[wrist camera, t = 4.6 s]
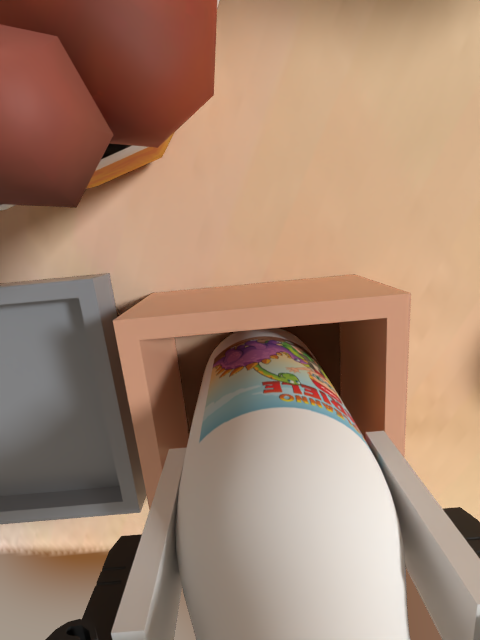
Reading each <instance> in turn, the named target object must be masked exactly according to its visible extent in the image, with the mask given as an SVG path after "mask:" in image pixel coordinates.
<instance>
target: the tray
mask: <svg viewBox="0 0 480 640" xmlns="http://www.w3.org/2000/svg"><path fill="white" fill-rule="evenodd" d="M117 317H118V316H117V311H116V306H115V301H114V295H113V290H112V285H111V280H110V274H109V273H108V274H97V275H86V276H76V277H65V278H54V279H43V280H33V281H22V282H11V283H0V524H9V523H21V522H33V521H45V520H57V519H69V518H81V517H93V516H105V515H117V514H128V513H140V512H141V509H142V506H143V503H144V500H145V498H146V495H147V494H146V489H145V484H144V479H143V474H142V468H141V463H140V458H139V453H138V448H137V443H136V438H135V433H134V427H133V422H132V417H131V412H130V407H129V402H128V397H127V391H126V386H125V381H124V376H123V371H122V366H121V361H120V356H119V350H118V345H117V340H116V335H115V330H114V325H113V320H114V319H116V318H117Z"/></svg>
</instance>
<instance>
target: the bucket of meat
mask: <svg viewBox="0 0 480 640" xmlns="http://www.w3.org/2000/svg"><path fill="white" fill-rule="evenodd" d="M219 1H220V0H0V210H6V209H8V208H10V207H13V206H15V205H32V206H56V207H77V205H78V203H79V201H80V199H81V197H82V196H83V194H84V192H85V190H86V188H91V187H95V186H98V185H101V184H103V183H105V182H107V181H110V180H112V179H114V178H116V177H119V176H121V175H123V174H125V173H128V172H130V171H132V170H134V169H137V168H139V167H141V166H143V165H145V164H148V163H150V162H152V161H154V160H157V159H159V158H161V157H162V156H163V154H164V152H165V150H166V148H167V146H168V144H169V142H170V140H171V138H172V136H173V134H174V132H175V131H176V130H177V129H178V128H179V127H180V126H181V125H182V124H184V123H185V122H186V121H187V120H188V119H189V118H190V117H191V116H192V115H193V114H194V113H195V112H196V111H197V110H198V109H199V108H200V107H202V106H203V105H204V104H205V103H206V102H207V101H208V100H209V99H210V98H211V97H212V96H213V95H214V72H215V45H216V19H217V8H218V5H219Z"/></svg>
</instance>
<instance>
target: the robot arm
mask: <svg viewBox="0 0 480 640" xmlns="http://www.w3.org/2000/svg"><path fill="white" fill-rule="evenodd" d="M365 441H366V442H367V444H368V446H369V448H370V450H371V452H372V454H373V455H374V457H375V459H376V461H377V463H378V465H379V466H380V468H381V471H382V473H383V475H384V478H385V480H386V483H387V485H388V488H389V490H390V493H391V495H392V498H393V502H394V505H395V508H396V512H397V515H398V519H399V523H400V528H401V534H402V540H403V546H404V555H405V567H406V569H407V570H408V573H409V575H410V576H411V578H412V580H413V582H414V584H415V586H416V588H417V590H418V592H419V594H420V596H421V598H422V600H423V602H424V604H425V606H426V608H427V610H428V612H429V614H430V616H431V618H432V620H433V622H434V624H435V626H436V628H437V630H438V632H439V634H440V635H441V638H442V640H480V522H479V521H478V520H477V519H476V518H474V517H473V516H471V515H470V514H469V513H467V512H466V511H465V510H463V509H462V508H460V507H458V508H446V509H442V508H441V506H440V505H439V504H438V502H437V501H436V500H435V498H434V497H433V496H432V494H431V493H430V492H429V490H428V489H427V488H426V486H425V485H424V484H423V482H422V481H421V480H420V478H419V477H418V476H417V474H416V473H415V472H414V470H413V469H412V468H411V466H410V465H409V464H408V462H407V461H406V460H405V458H404V457H403V456H402V454H401V453H400V452H399V450H398V449H397V448H396V446H395V445H394V444H393V442H392V441H391V440H390V438H389V437H388V436H387V434H386V433H385V432H384V431H374V432H366V433H365ZM185 453H186V448H175V449H169V451H168V454H167V457H166V460H165V464H164V467H163V470H162V473H161V476H160V479H159V482H158V486H157V489H156V492H155V495H154V498H153V501H152V505H151V508H150V511H149V514H148V517H147V520H146V524H145V527H144V530H143V533H142V535H130V536H121V537H120V539H119V540H118V541H117V542H116V544H115V545H114V546H113V547H112V549H111V550H110V551H109V553H108V556H107V558H106V561H105V563H104V566H103V569H102V572H101V573H100V576H99V578H98V581H97V585H96V586H95V588H94V591H93V593H92V595H91V598H90V600H89V603H88V605H87V608H86V610H85V613H84V615H83V618H82V620H81V619H78V620H74V621H70V622H67V623H66V624H64V625H62V626H61V627H59V628H58V629H56V630H55V631H54V632H53V633H52V634H51V635H50V636H49V637H48V638H47V639H46V640H174V635H175V628H176V622H177V615H178V609H179V603H180V596H181V590H182V584H181V580H180V576H179V569H178V562H177V554H176V533H175V524H176V510H177V499H178V491H179V485H180V480H181V474H182V469H183V463H184V458H185Z"/></svg>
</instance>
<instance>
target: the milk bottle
mask: <svg viewBox="0 0 480 640" xmlns="http://www.w3.org/2000/svg"><path fill="white" fill-rule="evenodd" d="M175 533H176V554H177V562H178V569H179V576H180V580H181V584H182V588H183V593H184V597H185V600H186V604H187V608H188V611H189V615H190V618H191V622H192V625H193V629H194V633H195V636H196V640H410V635H409V624H408V613H407V594H406V568H405V555H404V546H403V540H402V534H401V528H400V523H399V519H398V515H397V512H396V508H395V505H394V502H393V498H392V495H391V493H390V490H389V488H388V485H387V483H386V480H385V478H384V475H383V473H382V471H381V468H380V466H379V465H378V463H377V461H376V459H375V457H374V455H373V454H372V452H371V450H370V448H369V446H368V444H367V442H366V441H365V439H364V437H363V435H362V433H361V432H360V430H359V428H358V427H357V425H356V423H355V422H354V420H353V418H352V417H351V415H350V413H349V412H348V410H347V408H346V407H345V405H344V403H343V402H342V400H341V398H340V397H339V395H338V393H337V392H336V390H335V389H334V387H333V385H332V384H331V382H330V381H329V379H328V377H327V376H326V374H325V373H324V371H323V369H322V368H321V366H320V365H319V363H318V361H317V360H316V358H315V357H314V355H313V354H312V352H311V351H310V350H309V348H308V347H307V346H306V345H305V344H304V343H303V342H302V341H301V340H300V339H299V338H298V337H296V336H295V335H293V334H291V333H290V332H287V331H285V330H282V329H279V328H268V329H257V330H246V331H237V332H235V333H233V334H232V335H230V336H228V337H227V338H226V339H224V340H223V341H222V342H221V343H220V344H219V345H218V346H217V347H216V348H215V350H214V351H213V353H212V354H211V356H210V358H209V360H208V363H207V366H206V369H205V372H204V376H203V380H202V384H201V388H200V392H199V396H198V400H197V405H196V409H195V413H194V417H193V421H192V426H191V430H190V435H189V439H188V444H187V448H186V453H185V458H184V463H183V469H182V474H181V480H180V485H179V491H178V499H177V510H176V524H175Z"/></svg>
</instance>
